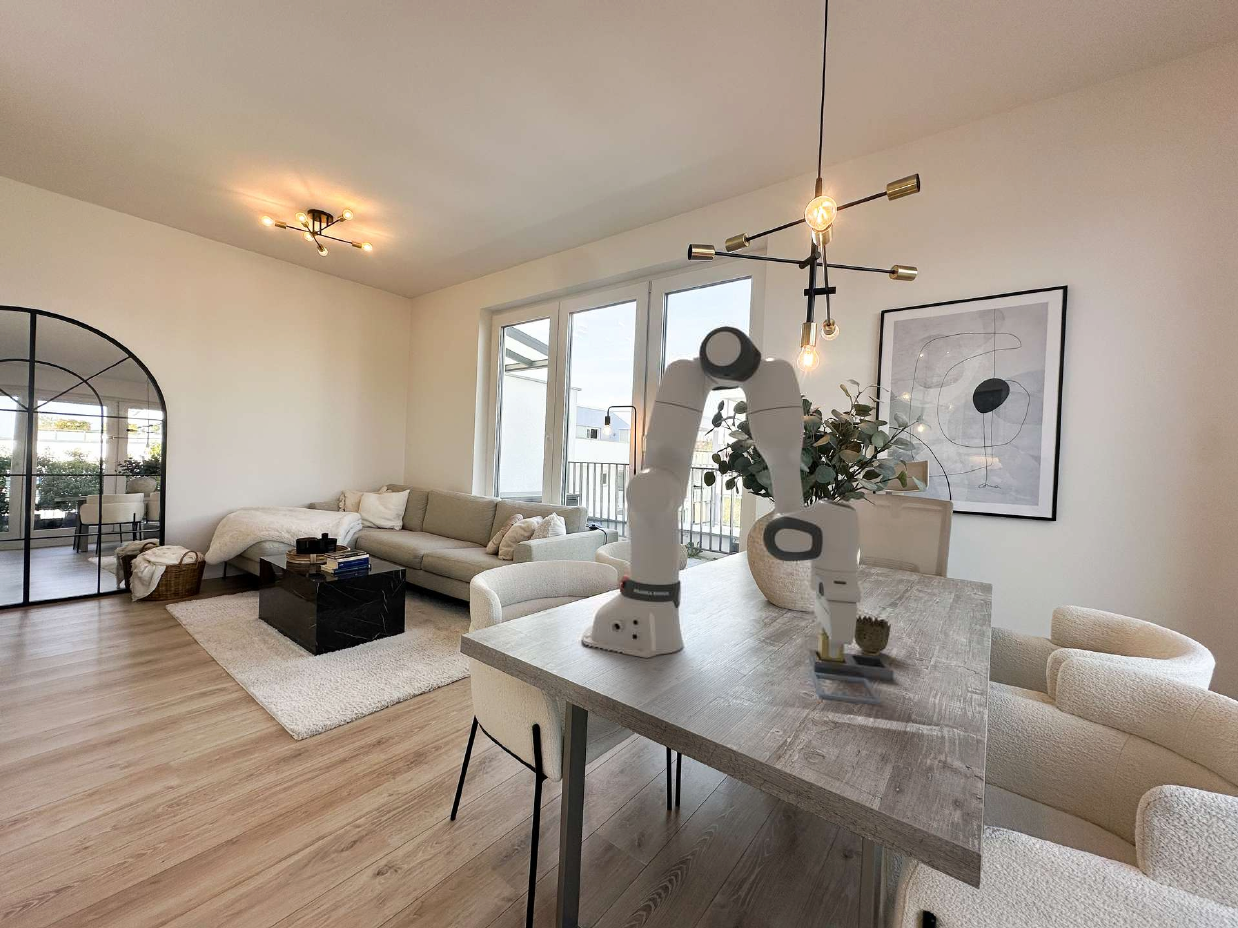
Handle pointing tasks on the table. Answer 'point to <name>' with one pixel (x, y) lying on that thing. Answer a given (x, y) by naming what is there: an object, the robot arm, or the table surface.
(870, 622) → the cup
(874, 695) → the blue-grey flat square frame
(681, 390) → the robot arm
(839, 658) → the yellow upright block
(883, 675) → the grey open box
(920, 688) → the table surface
